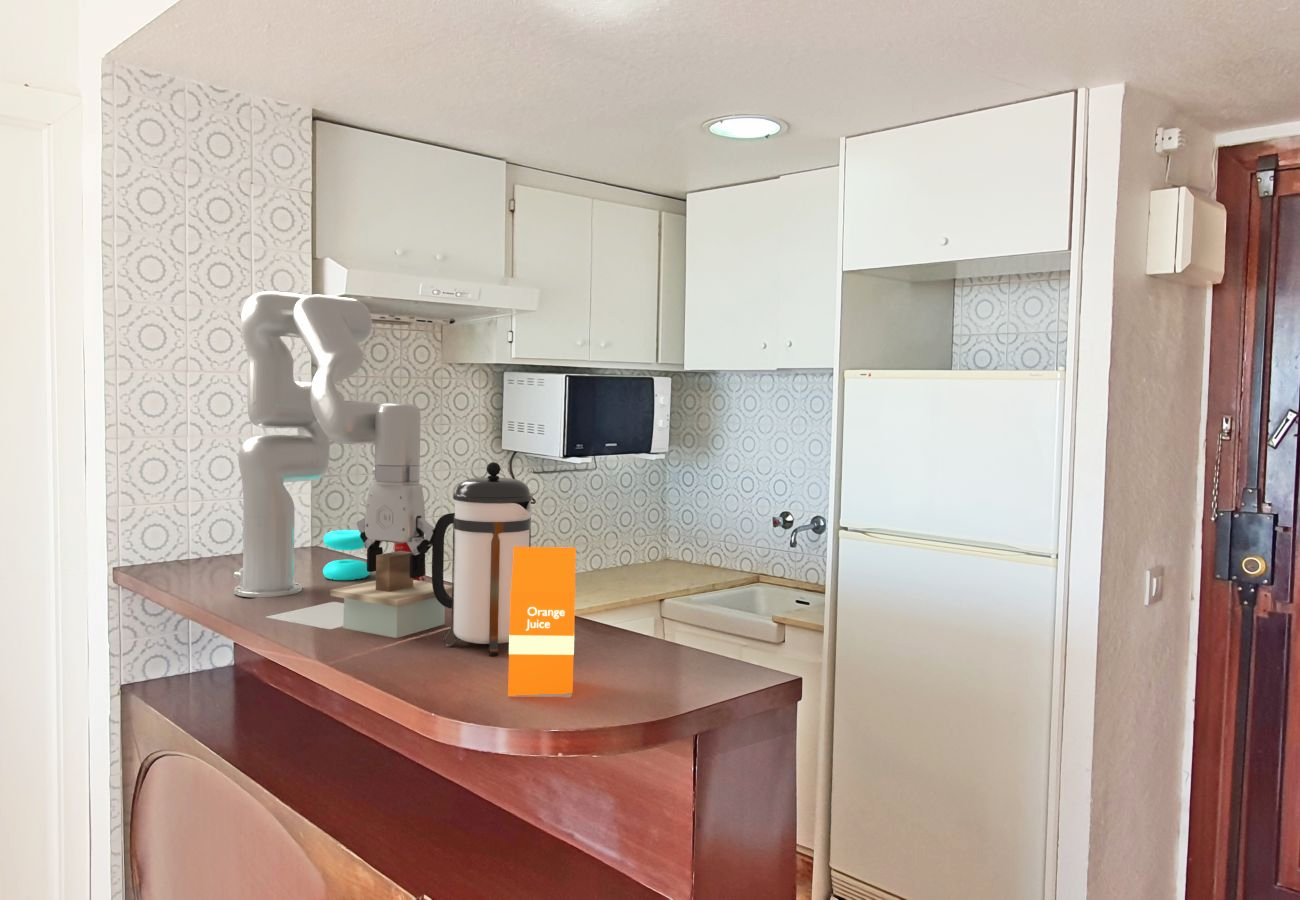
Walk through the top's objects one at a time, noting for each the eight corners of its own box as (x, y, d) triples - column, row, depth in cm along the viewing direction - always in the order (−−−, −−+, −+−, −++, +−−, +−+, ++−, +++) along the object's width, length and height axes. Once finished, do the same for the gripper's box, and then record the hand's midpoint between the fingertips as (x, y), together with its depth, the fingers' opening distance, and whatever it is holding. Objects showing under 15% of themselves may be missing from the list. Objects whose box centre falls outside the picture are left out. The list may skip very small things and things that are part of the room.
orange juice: (572, 698, 129) (576, 552, 128) (507, 698, 128) (510, 551, 127) (572, 681, 137) (576, 543, 136) (511, 681, 136) (514, 542, 135)
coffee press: (532, 631, 166) (536, 459, 164) (537, 656, 150) (542, 466, 148) (430, 632, 163) (434, 457, 161) (425, 658, 147) (428, 464, 145)
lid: (330, 595, 162) (330, 554, 161) (392, 582, 175) (393, 544, 175) (396, 606, 155) (397, 564, 154) (456, 592, 168) (457, 552, 168)
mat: (264, 619, 169) (264, 617, 169) (333, 603, 183) (333, 601, 183) (330, 631, 161) (330, 629, 161) (396, 614, 175) (396, 612, 175)
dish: (343, 630, 163) (343, 595, 162) (393, 617, 173) (393, 584, 173) (396, 640, 157) (397, 604, 157) (444, 626, 168) (445, 592, 167)
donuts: (350, 528, 216) (380, 532, 211) (349, 571, 217) (380, 576, 211) (313, 532, 208) (344, 536, 203) (313, 577, 208) (344, 583, 203)
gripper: (344, 473, 165) (342, 571, 165) (421, 479, 156) (419, 583, 157) (375, 471, 171) (374, 565, 172) (450, 477, 163) (448, 576, 164)
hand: (395, 573), depth 165 cm, fingers open, 9 cm apart
